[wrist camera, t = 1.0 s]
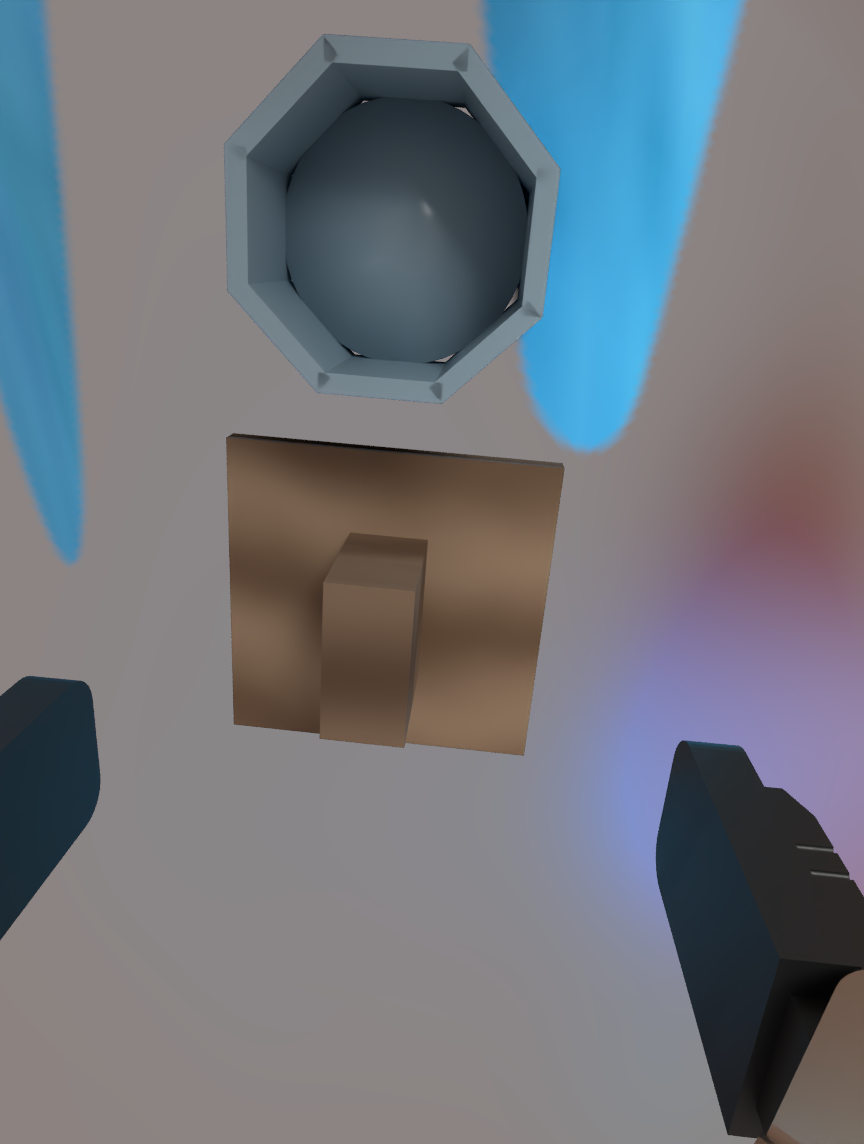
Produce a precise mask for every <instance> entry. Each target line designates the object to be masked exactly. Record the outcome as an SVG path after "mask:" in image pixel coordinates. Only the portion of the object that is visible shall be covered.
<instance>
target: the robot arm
mask: <svg viewBox="0 0 864 1144" xmlns="http://www.w3.org/2000/svg"><path fill="white" fill-rule="evenodd" d="M95 729H96V728H95V719H94V709H93V699H92V694H91V690H90V688H89V686H88V685H87V684H86V683H85V682H83V681H76V680H66V679H55V678H45V677H35V676H27V677H24V678H22V679H21V680H19V681H18V682H17V683H15V684H14V685H13V686H12V687H11V688H9V689H8V690H7V691H6V692H5V693H4V694H2V695H1V696H0V940H1V938H2V937H3V936H4V935H5V933H6V932H7V930H8V929H9V928H10V927H11V925H12V924H13V922H14V921H15V920H16V918H17V917H18V916H19V915H20V913H21V912H22V911H23V909H24V908H25V907H26V905H27V904H28V902H29V901H30V900H31V898H32V897H33V896H34V895H35V893H36V892H37V890H38V889H39V888H40V887H41V885H42V884H43V882H44V881H45V880H46V879H47V877H48V876H49V875H50V873H51V872H52V871H53V869H54V868H55V867H56V865H57V864H58V863H59V861H60V860H61V859H62V857H63V856H64V855H65V853H66V852H67V851H68V849H69V848H70V847H71V845H72V844H73V843H74V841H75V840H76V839H77V837H78V836H79V835H80V833H81V832H82V831H83V829H84V828H85V827H86V825H87V823H88V822H89V821H90V819H91V817H92V815H93V812H94V810H95V807H96V804H97V800H98V796H99V790H100V769H99V758H98V748H97V739H96V730H95ZM656 871H657V878H658V885H659V889H660V892H661V896H662V900H663V903H664V907H665V910H666V914H667V918H668V921H669V925H670V928H671V932H672V935H673V939H674V943H675V946H676V950H677V954H678V957H679V961H680V964H681V968H682V971H683V975H684V979H685V982H686V986H687V990H688V993H689V997H690V1000H691V1004H692V1007H693V1011H694V1015H695V1018H696V1022H697V1025H698V1029H699V1033H700V1036H701V1040H702V1043H703V1047H704V1051H705V1054H706V1058H707V1062H708V1065H709V1069H710V1072H711V1076H712V1080H713V1083H714V1087H715V1091H716V1094H717V1098H718V1101H719V1105H720V1108H721V1112H722V1116H723V1119H724V1123H725V1127H726V1130H727V1134H728V1135H733V1136H741V1137H751V1138H757V1140H756V1141H755V1143H754V1144H864V897H863V895H862V893H861V892H860V890H859V888H858V887H857V885H856V883H855V882H854V880H850V879H849V872H848V870H847V869H846V867H845V865H844V864H843V862H842V860H841V859H840V857H839V855H838V854H837V853H834V852H833V846H832V844H831V842H830V841H829V839H828V837H827V836H826V834H825V833H824V831H823V829H822V827H821V826H820V824H819V822H818V821H817V819H816V818H815V816H814V815H813V814H811V813H810V812H809V811H808V810H807V809H806V808H804V807H803V806H802V805H801V804H800V803H799V802H797V801H796V800H795V799H794V798H793V797H791V796H790V795H789V794H788V793H787V792H786V791H785V790H783V789H781V788H771V787H764V785H763V784H762V782H761V780H760V778H759V776H758V774H757V773H756V771H755V769H754V767H753V765H752V763H751V762H750V760H749V758H748V756H747V754H746V752H745V751H744V749H743V748H742V747H740V746H736V745H726V744H714V743H703V742H693V741H681V742H680V743H679V745H678V746H677V748H676V751H675V754H674V759H673V763H672V769H671V773H670V778H669V783H668V788H667V793H666V798H665V802H664V807H663V812H662V817H661V821H660V827H659V831H658V837H657V844H656Z"/></svg>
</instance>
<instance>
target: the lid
mask: <svg viewBox="0 0 864 1144" xmlns="http://www.w3.org/2000/svg"><path fill="white" fill-rule="evenodd" d="M226 443H227V480H228V519H229V554H230V555H229V556H230V589H231V590H230V594H231V630H232V667H233V668H232V669H233V707H234V724H236V725H245V726H255V727H264V728H274V729H282V730H291V731H301V732H310V733H319V734H320V739H328V740H337V741H346V742H356V743H365V744H374V745H383V746H392V747H402V748H404V746H405V743H413V744H422V745H430V746H440V747H450V748H458V749H468V750H477V751H487V752H495V753H506V754H514V755H524V750H525V743H526V736H527V729H528V722H529V715H530V708H531V701H532V694H533V687H534V680H535V673H536V666H537V658H538V651H539V644H540V637H541V630H542V623H543V616H544V609H545V602H546V595H547V588H548V581H549V574H550V567H551V559H552V553H553V545H554V539H555V531H556V524H557V517H558V510H559V503H560V495H561V489H562V482H563V475H564V466H563V463H556V462H545V461H534V460H523V459H512V458H500V457H490V456H479V455H468V454H457V453H446V452H435V451H424V450H413V449H402V448H390V447H380V446H369V445H358V444H347V443H336V442H325V441H313V440H303V439H292V438H281V437H270V436H259V435H248V434H237V433H233V434H231V435H230V436H228V437H226Z"/></svg>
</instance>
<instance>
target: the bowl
mask: <svg viewBox="0 0 864 1144" xmlns="http://www.w3.org/2000/svg"><path fill="white" fill-rule="evenodd" d="M362 101H368V102H364V103H362ZM361 103H362V104H361ZM455 107H462V108H466V109H467V110H468V112H469V113H470V114H471V116H472V117H473V118H474V119H473V118H472V117H470V116H469V115H467V114H466V113H464V112H463V111H461V110H459V109H457V108H455ZM224 159H225V160H224V161H225V203H226V204H225V205H226V246H227V290H228V293H229V294H230V295H231V296H232V297H233V298H234V299H235V300H236V301H237V303H238V304H239V305H240V306H241V307H242V308H243V310H244V311H245V312H246V313H247V314H248V315H249V316H250V317H251V319H252V320H253V321H254V322H255V323H256V324H257V325H258V326H259V328H260V329H261V330H262V331H263V332H264V333H265V335H266V336H267V337H268V338H269V339H270V340H271V341H272V342H273V344H274V345H275V346H276V347H277V348H278V349H279V350H280V352H281V353H282V354H283V355H284V356H285V357H286V358H287V359H288V361H289V362H290V363H291V364H292V365H293V366H294V367H295V369H296V370H297V371H298V372H299V373H300V374H301V375H302V376H303V377H304V379H305V380H306V381H307V382H308V383H309V384H310V386H311V387H312V388H313V389H314V390H315V391H316V392H317V393H326V394H337V395H348V396H359V397H371V398H382V399H394V400H405V401H416V402H427V403H439V404H441V403H443V402H444V401H445V400H447V399H448V398H449V397H450V396H451V395H452V394H454V393H455V392H456V391H457V390H458V389H460V388H461V387H462V386H463V385H464V384H465V383H467V382H468V381H469V380H470V379H471V378H472V377H474V376H475V375H476V374H477V373H478V372H479V371H481V370H482V369H483V368H484V367H485V366H486V365H488V364H489V363H490V362H491V361H492V360H493V359H495V358H496V357H497V356H498V355H499V354H501V352H503V351H504V350H505V349H506V348H508V347H509V346H510V345H511V344H512V343H513V342H515V341H516V340H517V339H518V338H519V337H520V336H522V335H523V334H524V333H525V332H526V331H527V330H529V329H530V328H531V327H532V326H533V325H534V324H536V323H537V322H538V321H539V320H540V319H541V318H542V317H543V309H544V301H545V293H546V285H547V276H548V268H549V260H550V252H551V244H552V235H553V227H554V219H555V211H556V203H557V194H558V186H559V178H560V167H559V166H558V165H557V163H556V162H555V161H554V159H553V158H552V156H551V155H550V154H549V152H548V151H547V150H546V148H545V147H544V145H543V144H542V143H541V141H540V140H539V138H538V137H537V136H536V134H535V133H534V132H533V130H532V129H531V127H530V126H529V125H528V123H527V122H526V121H525V119H524V118H523V116H522V115H521V114H520V112H519V111H518V110H517V108H516V107H515V105H514V104H513V103H512V101H511V100H510V98H509V97H508V96H507V94H506V93H505V92H504V90H503V89H502V87H501V86H500V85H499V83H498V82H497V81H496V79H495V78H494V76H493V75H492V74H491V72H490V71H489V69H488V68H487V67H486V65H485V64H484V63H483V61H482V60H481V58H480V57H479V56H478V54H477V53H476V52H475V50H474V49H473V47H472V46H471V45H469V44H464V43H450V42H435V41H421V40H406V39H391V38H376V37H361V36H346V35H332V34H324V35H322V36H321V37H320V38H319V39H318V40H317V42H316V43H315V44H314V45H313V46H312V47H311V48H310V49H309V50H308V52H307V53H306V54H305V55H304V56H303V57H302V58H301V59H300V60H299V62H298V63H297V64H296V65H295V66H294V67H293V68H292V69H291V70H290V71H289V73H288V74H287V75H286V76H285V77H284V78H283V79H282V80H281V81H280V83H279V84H278V85H277V86H276V87H275V88H274V89H273V90H272V91H271V93H270V94H269V95H268V96H267V97H266V98H265V99H264V100H263V101H262V103H261V104H260V105H259V106H258V107H257V108H256V109H255V110H254V111H253V112H252V114H251V115H250V116H249V117H248V118H247V119H246V120H245V121H244V122H243V124H242V125H241V126H240V127H239V128H238V129H237V130H236V131H235V132H234V133H233V135H232V136H231V137H230V138H229V139H228V140H227V141H226V142H225V145H224ZM292 175H293V176H292ZM519 180H520V182H521V183H522V185H523V186H524V187H525V189H526V190H527V191H528V193H529V202H528V211H527V209H526V204H525V199H524V194H523V191H522V188H521V185H520V182H519ZM291 279H292V281H293V282H292V281H291ZM519 281H520V284H519V293H518V299H517V300H516V301H515V302H514V303H513V304H512V305H510V306H509V307H508V308H507V309H506V307H507V305H508V304H509V302H510V300H511V299H512V297H513V295H514V292H515V290H516V288H517V286H518V283H519ZM505 309H506V310H505ZM504 310H505V311H504ZM350 349H351V350H352V351H354V352H357V353H359V354H361V355H355V354H354V353H353V352H352V351H351V350H350ZM455 353H456V354H455ZM452 354H454V355H453V356H452V357H451V358H450V359H449V360H448V361H446V362H436V361H435V360H439V359H443V358H445V357H447V356H450V355H452Z"/></svg>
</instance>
